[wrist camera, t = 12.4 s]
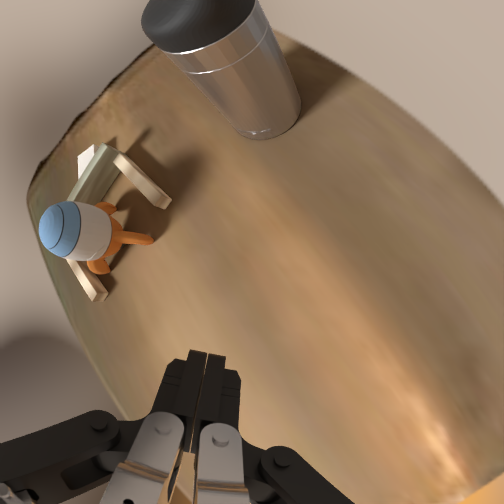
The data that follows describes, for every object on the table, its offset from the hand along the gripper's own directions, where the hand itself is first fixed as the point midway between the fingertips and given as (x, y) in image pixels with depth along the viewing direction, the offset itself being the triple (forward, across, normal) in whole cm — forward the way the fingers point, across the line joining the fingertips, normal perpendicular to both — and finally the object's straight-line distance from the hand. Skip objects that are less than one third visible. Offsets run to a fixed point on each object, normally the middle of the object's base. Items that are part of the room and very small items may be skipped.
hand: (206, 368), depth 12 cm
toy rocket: (+29, -14, -6) cm, 33 cm away
